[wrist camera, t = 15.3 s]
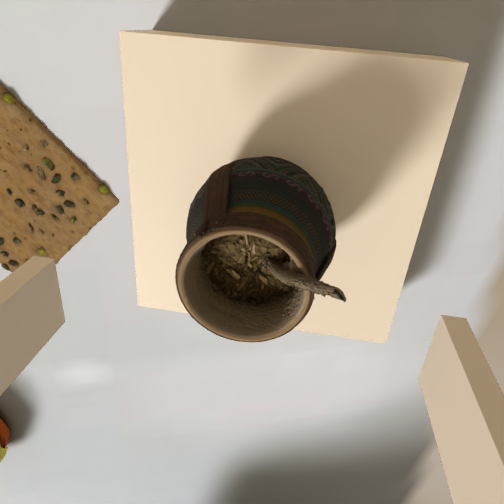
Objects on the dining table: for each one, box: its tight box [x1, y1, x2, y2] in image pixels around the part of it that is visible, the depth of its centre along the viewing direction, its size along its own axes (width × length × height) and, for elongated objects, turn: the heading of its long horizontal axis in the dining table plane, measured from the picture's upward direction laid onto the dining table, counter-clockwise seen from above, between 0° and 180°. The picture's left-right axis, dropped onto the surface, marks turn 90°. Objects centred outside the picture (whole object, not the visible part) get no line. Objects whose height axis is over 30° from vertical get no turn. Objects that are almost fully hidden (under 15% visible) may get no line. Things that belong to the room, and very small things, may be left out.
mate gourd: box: [175, 156, 346, 342], centre depth 19 cm, size 7×8×10 cm
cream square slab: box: [119, 30, 469, 343], centre depth 25 cm, size 16×16×5 cm
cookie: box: [0, 83, 119, 272], centre depth 30 cm, size 12×12×1 cm
